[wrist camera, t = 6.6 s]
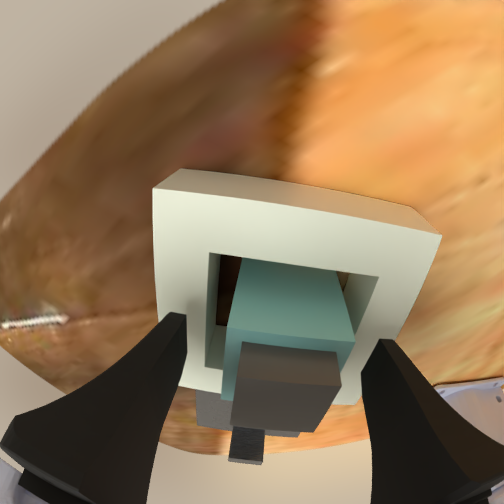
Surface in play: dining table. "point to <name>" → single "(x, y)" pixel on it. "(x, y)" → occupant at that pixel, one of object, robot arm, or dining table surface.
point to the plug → (285, 346)
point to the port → (284, 257)
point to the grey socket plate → (234, 428)
